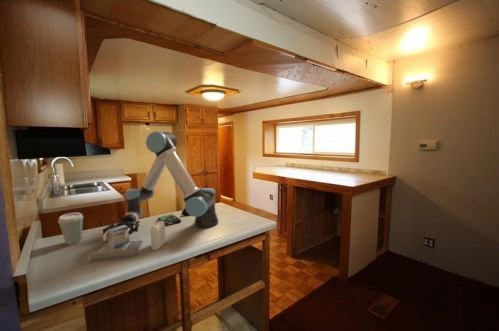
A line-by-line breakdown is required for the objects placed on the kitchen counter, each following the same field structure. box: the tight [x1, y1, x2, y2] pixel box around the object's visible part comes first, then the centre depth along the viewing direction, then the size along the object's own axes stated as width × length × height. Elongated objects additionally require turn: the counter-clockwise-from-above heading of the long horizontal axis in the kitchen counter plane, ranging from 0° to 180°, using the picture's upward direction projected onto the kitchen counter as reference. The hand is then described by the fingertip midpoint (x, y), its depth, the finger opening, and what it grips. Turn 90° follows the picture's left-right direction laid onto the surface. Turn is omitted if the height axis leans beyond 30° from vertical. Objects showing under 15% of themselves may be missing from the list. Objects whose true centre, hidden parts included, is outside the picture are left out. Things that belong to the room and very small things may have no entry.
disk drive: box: [157, 214, 182, 227], centre depth 151 cm, size 10×3×15 cm
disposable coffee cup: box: [57, 212, 84, 246], centre depth 120 cm, size 11×11×15 cm
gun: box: [180, 208, 189, 217], centre depth 167 cm, size 3×16×10 cm, turn 128°
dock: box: [90, 240, 143, 262], centre depth 111 cm, size 18×15×3 cm
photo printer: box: [150, 220, 166, 251], centre depth 116 cm, size 10×4×12 cm, turn 179°
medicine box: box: [107, 225, 130, 249], centre depth 111 cm, size 8×4×9 cm, turn 149°
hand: (115, 236), depth 106 cm, fingers closed on medicine box, 8 cm apart
